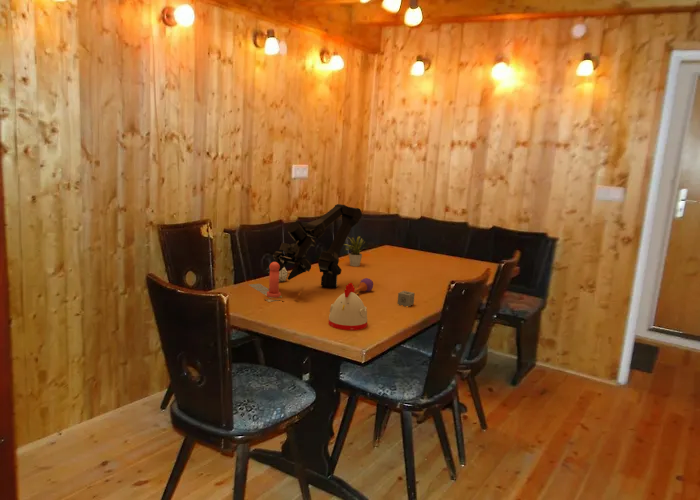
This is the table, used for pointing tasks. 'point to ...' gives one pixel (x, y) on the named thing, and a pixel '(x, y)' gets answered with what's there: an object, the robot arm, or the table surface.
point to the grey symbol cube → (406, 298)
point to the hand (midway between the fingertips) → (280, 277)
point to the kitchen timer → (348, 311)
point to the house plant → (355, 252)
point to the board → (263, 290)
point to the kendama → (364, 285)
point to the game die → (283, 275)
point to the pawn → (274, 281)
